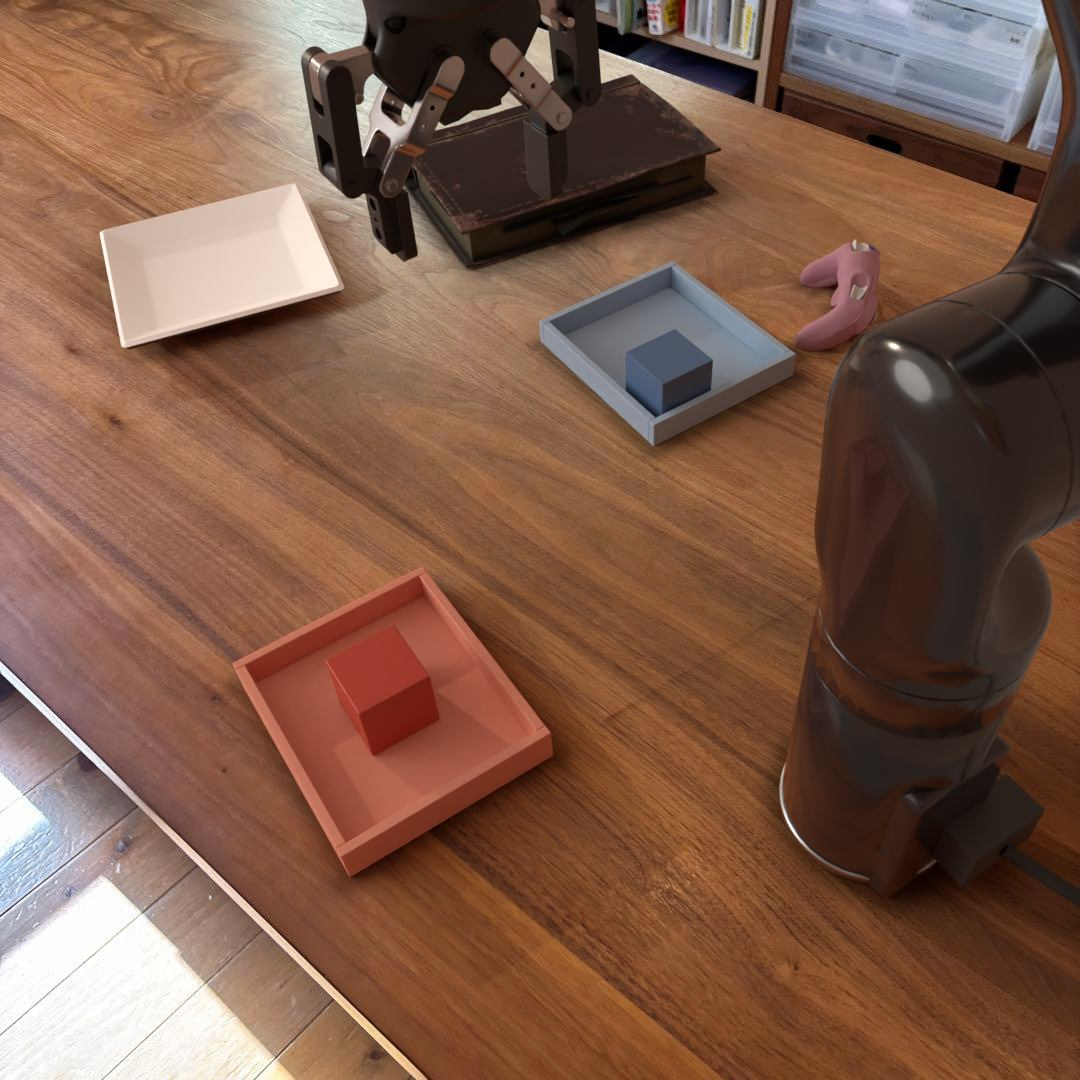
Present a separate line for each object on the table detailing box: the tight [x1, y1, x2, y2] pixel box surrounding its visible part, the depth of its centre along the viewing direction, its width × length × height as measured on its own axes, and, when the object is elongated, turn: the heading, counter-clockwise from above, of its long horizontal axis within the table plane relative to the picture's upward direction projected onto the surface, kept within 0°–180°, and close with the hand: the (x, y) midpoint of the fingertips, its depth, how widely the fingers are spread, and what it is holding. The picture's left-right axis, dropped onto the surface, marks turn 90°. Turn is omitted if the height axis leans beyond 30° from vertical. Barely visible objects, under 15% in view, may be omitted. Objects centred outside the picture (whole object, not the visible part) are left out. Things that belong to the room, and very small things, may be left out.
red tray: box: [232, 566, 554, 878], centre depth 66 cm, size 15×13×2 cm
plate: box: [99, 182, 345, 350], centre depth 98 cm, size 19×19×2 cm
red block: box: [325, 625, 440, 756], centre depth 65 cm, size 4×4×4 cm
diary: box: [403, 73, 722, 269], centre depth 103 cm, size 19×25×5 cm
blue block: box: [626, 329, 713, 418], centre depth 81 cm, size 4×4×4 cm
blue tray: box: [538, 260, 797, 447], centre depth 86 cm, size 15×13×2 cm
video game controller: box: [794, 239, 881, 352], centre depth 87 cm, size 10×5×7 cm, turn 168°
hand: (475, 222), depth 56 cm, fingers open, 8 cm apart
